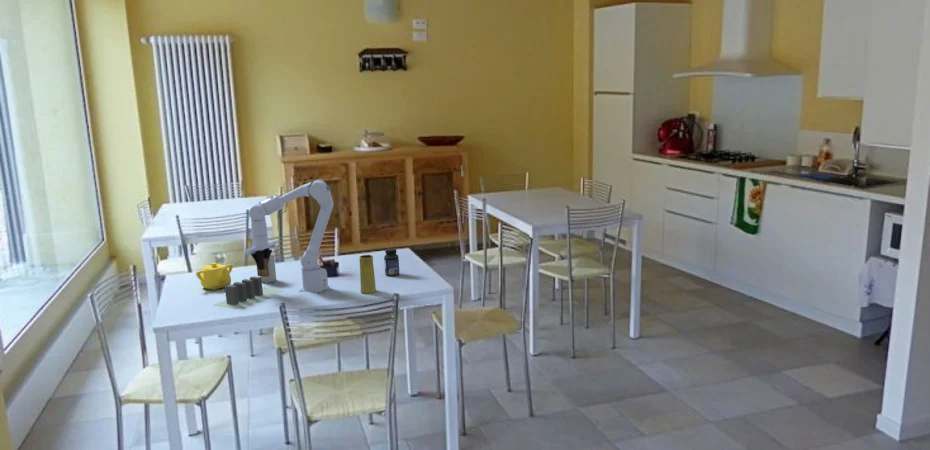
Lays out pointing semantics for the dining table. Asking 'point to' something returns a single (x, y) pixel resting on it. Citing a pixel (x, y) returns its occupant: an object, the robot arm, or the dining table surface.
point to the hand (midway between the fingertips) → (262, 268)
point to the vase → (367, 274)
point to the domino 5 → (264, 269)
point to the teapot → (215, 276)
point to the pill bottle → (391, 262)
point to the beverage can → (270, 271)
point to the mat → (266, 293)
